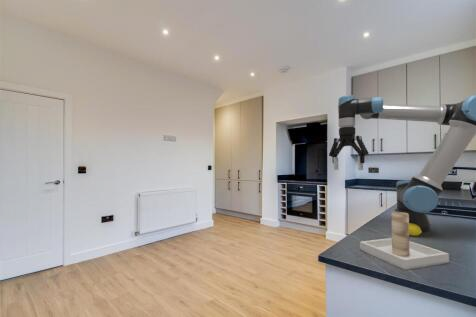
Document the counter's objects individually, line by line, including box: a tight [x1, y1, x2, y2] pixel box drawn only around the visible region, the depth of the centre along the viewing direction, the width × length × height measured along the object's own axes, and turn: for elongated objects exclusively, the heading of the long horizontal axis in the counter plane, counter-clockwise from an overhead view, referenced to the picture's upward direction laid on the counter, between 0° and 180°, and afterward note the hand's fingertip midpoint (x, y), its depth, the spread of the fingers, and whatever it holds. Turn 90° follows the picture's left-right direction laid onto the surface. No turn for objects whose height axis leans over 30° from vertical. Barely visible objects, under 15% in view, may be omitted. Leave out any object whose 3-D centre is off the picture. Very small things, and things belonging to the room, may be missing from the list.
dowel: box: [390, 211, 410, 257], centre depth 84 cm, size 5×5×14 cm
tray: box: [359, 237, 450, 271], centre depth 84 cm, size 18×18×3 cm
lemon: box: [409, 223, 423, 237], centre depth 107 cm, size 7×5×5 cm
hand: (347, 170), depth 120 cm, fingers open, 13 cm apart
